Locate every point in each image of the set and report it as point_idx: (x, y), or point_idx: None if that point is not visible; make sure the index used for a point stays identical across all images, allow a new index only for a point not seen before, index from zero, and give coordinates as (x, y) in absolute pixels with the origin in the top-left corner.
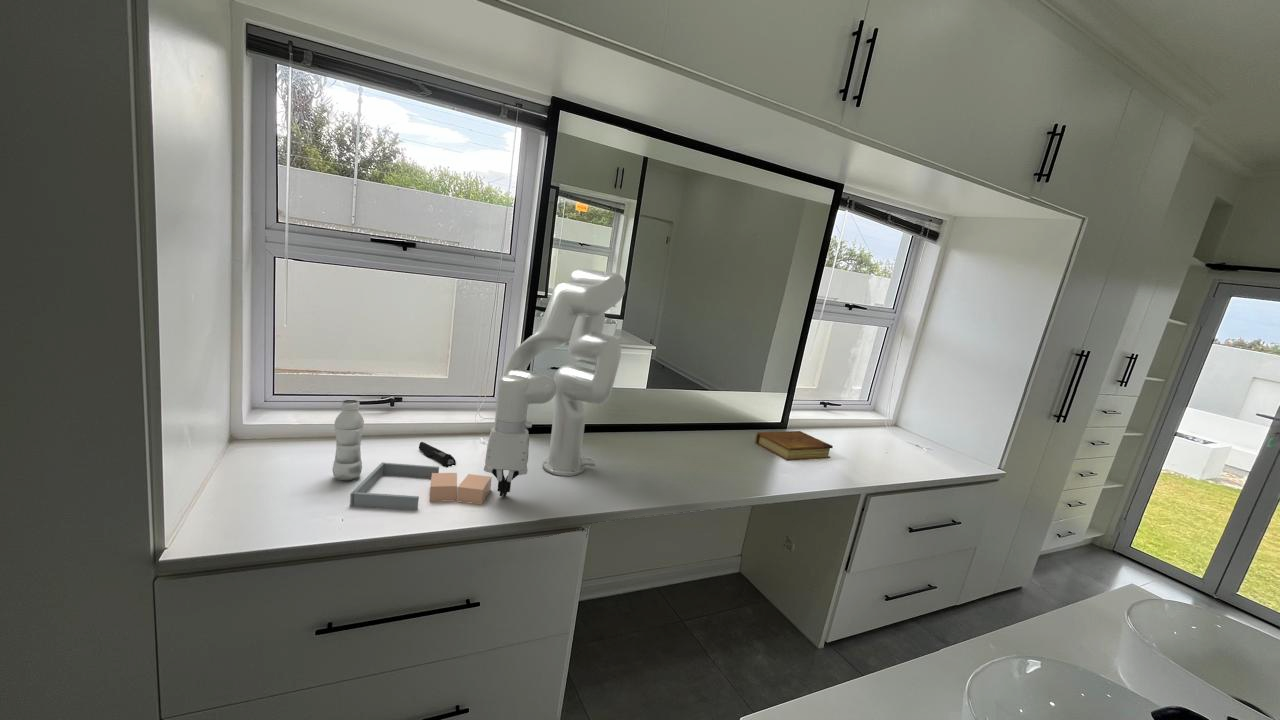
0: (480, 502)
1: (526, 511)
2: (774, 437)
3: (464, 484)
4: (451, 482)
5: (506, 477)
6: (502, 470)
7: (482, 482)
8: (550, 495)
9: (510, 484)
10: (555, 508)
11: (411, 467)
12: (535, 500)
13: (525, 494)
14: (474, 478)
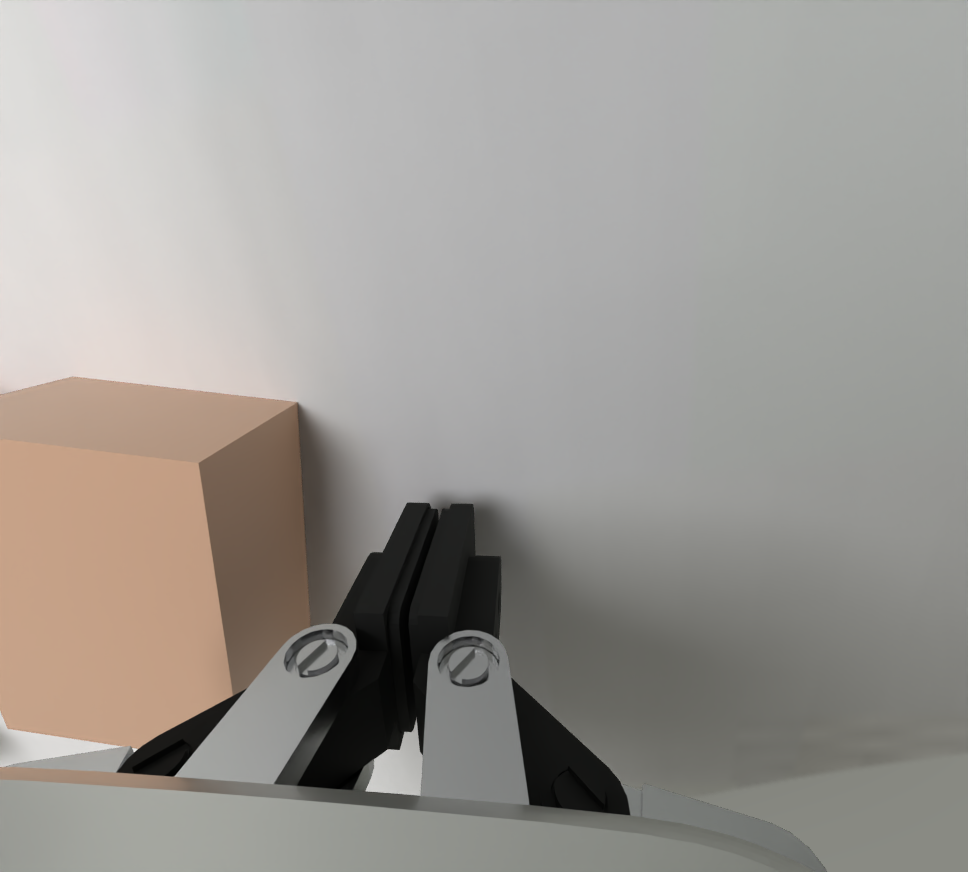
0: None
1: (662, 717)
2: None
3: (29, 684)
4: None
5: (419, 724)
6: (298, 767)
7: (169, 631)
8: (951, 435)
9: (496, 635)
10: (925, 670)
11: None
12: (756, 555)
13: (661, 447)
14: (32, 541)
